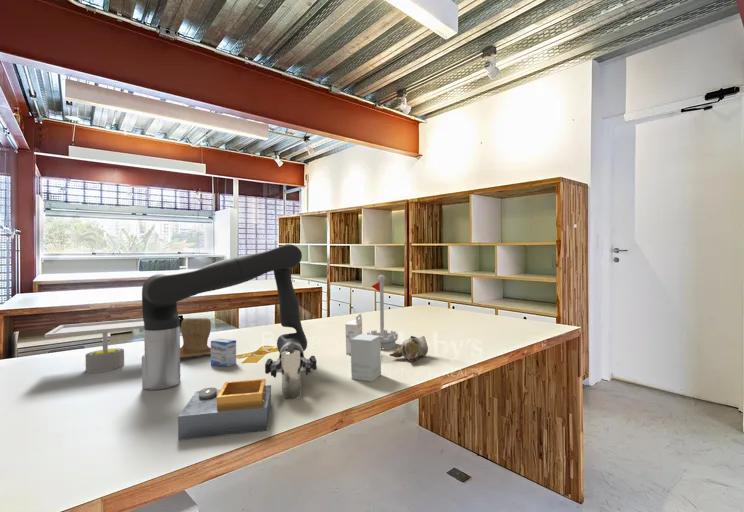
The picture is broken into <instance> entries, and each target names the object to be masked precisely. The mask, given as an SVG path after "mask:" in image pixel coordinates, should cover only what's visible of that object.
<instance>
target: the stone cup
mask: <svg viewBox="0 0 744 512" xmlns="http://www.w3.org/2000/svg"><path fill="white" fill-rule="evenodd" d="M211 330H212V321H211V319H210V318H208V317H200V318H199V317H198V318H195V317H194V318H193V317H191V318H190V317H185V318H183V320H182V321H181V323H180V332H181V337H182V341H183V343H182V346H180V360H184V359H191V358H197V357H203V356H208V355H211V346H208V340H209V337H210V334H211Z"/></svg>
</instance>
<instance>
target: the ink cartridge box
mask: <svg viewBox="0 0 744 512" xmlns="http://www.w3.org/2000/svg"><path fill="white" fill-rule="evenodd" d="M355 318H356V319H353V320H349V321H348V322H347V323H345V354H346V355H351V339H352V338H354V337H356V336H358V335H360V334H363V317H362V313H359V314H358V315H356V317H355Z"/></svg>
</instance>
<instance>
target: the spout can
mask: <svg viewBox="0 0 744 512" xmlns="http://www.w3.org/2000/svg"><path fill="white" fill-rule="evenodd" d="M281 358H282V368H281V369H282V372H281V398H282V399H283V400H296V399H298V398H300V397H301V396H302V395H301V394H302V393H301V389H302V388H301V387H302V386H301V371H300V351H298V350H294V345H293V344H290V345H288V350H287V351H283V352H282V353H281Z"/></svg>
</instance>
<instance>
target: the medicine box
mask: <svg viewBox="0 0 744 512" xmlns="http://www.w3.org/2000/svg"><path fill="white" fill-rule="evenodd" d="M210 348H211V354H210V366H216V367H217V366H218V367H223V368H224V367H225V368H229V367H231V366H234V365H236V364H237V340H236V339H235V340H234V339H229V338H227V339H226V338H215V339H211V341H210Z"/></svg>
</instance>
